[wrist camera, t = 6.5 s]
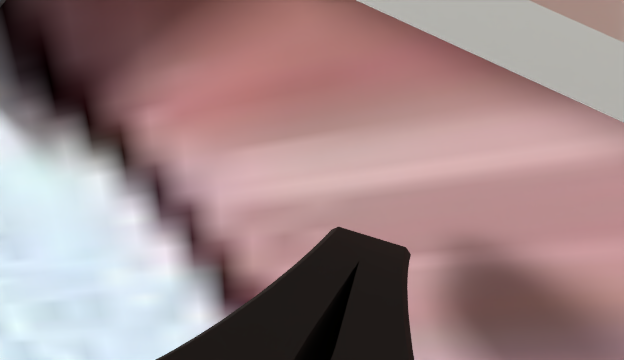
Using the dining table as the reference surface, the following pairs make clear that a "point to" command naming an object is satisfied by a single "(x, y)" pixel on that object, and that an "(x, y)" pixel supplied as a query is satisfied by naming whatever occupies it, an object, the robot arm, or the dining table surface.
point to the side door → (534, 40)
